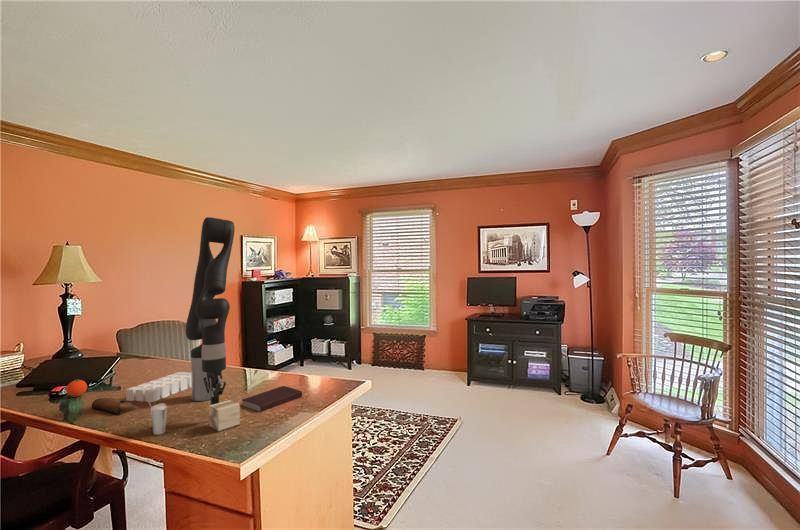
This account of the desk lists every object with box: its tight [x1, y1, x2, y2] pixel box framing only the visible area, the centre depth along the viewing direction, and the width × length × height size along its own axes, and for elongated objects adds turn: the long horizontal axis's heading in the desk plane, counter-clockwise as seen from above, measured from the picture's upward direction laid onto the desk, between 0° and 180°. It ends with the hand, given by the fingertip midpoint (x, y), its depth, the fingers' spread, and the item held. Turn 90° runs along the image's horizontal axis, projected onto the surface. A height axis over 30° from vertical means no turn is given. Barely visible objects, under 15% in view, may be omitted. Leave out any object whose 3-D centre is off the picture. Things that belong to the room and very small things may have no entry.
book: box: [241, 385, 303, 413], centre depth 151 cm, size 12×19×3 cm, turn 145°
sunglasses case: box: [91, 397, 140, 416], centre depth 147 cm, size 18×7×7 cm, turn 64°
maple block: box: [208, 399, 241, 433], centre depth 128 cm, size 7×7×7 cm
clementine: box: [65, 379, 88, 398], centre depth 164 cm, size 8×7×7 cm
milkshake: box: [147, 402, 168, 436], centre depth 124 cm, size 4×5×10 cm
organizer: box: [125, 371, 191, 403], centre depth 173 cm, size 13×5×35 cm
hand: (214, 406), depth 133 cm, fingers closed
